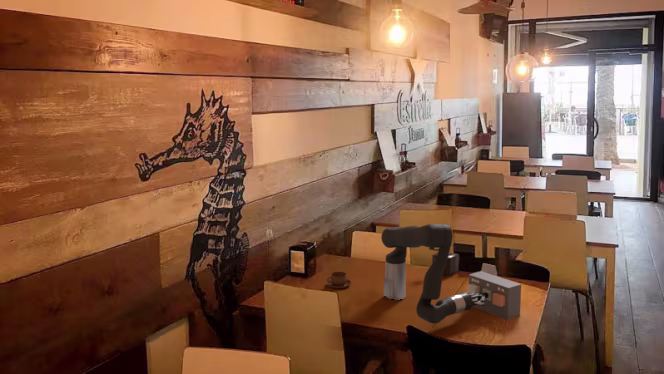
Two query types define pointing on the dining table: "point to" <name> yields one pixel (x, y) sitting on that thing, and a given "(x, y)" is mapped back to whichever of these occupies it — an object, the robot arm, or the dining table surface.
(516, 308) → the console
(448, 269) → the dark brown coffee grinder
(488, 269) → the pale pink rectangular block
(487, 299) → the button sage
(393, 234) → the robot arm
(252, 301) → the dining table surface
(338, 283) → the cup and saucer
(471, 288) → the button cream
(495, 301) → the button terracotta
